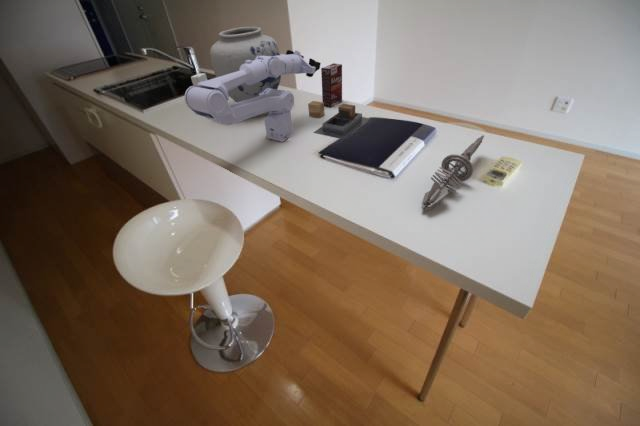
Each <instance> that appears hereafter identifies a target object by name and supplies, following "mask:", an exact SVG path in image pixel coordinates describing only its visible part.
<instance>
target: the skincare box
mask: <svg viewBox="0 0 640 426" xmlns="http://www.w3.org/2000/svg"><path fill="white" fill-rule="evenodd" d="M190 78H191V79H190V80H191V83H192V86H198V87H201V86H200V85H197V84H198V83H200V82H202V81H206V80H208V77H207V74H206V73H196V74H195V75H191V76H190Z"/></svg>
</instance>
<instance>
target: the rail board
mask: <svg viewBox="0 0 640 426" xmlns="http://www.w3.org/2000/svg"><path fill="white" fill-rule="evenodd" d="M369 119H370V120H371V118H370V117H365V116H363V113H361V112H360V113H358V112H355V117H354V118H353V119H352V120H351V119H345V118H340V117H339V114H338V113H336V114H334V115H333V116H332V117H330V118H329V119H327V120H325V121H324V122H322V126H321V127H319V128H317V129H316V130H315V131H314V132H313V134H317V135H323V136H324V137H325V136H327V137H330V138H335V139H340V140H344V139H345V138H346V137H348V136H347V135H348V134H352V135H353V134H354V133H355V132H356V131H358V130H359V129H360V128H361V127H362V126H363V125H365V124H366V123H367V122H369V121H370V120H369ZM348 138H349V137H348Z"/></svg>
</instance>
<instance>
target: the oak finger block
mask: <svg viewBox="0 0 640 426" xmlns="http://www.w3.org/2000/svg"><path fill="white" fill-rule="evenodd" d="M307 105H308V107H307V108H308V116H309V117H312V118H316V119H321V118H322V117H324V116H325V113H326V112H325V107H324V102H323V101H318V100H312V101H311V102H309V103H307Z"/></svg>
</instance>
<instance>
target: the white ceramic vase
mask: <svg viewBox="0 0 640 426" xmlns="http://www.w3.org/2000/svg"><path fill="white" fill-rule="evenodd" d="M261 32H262V28H261V27H258V26H241V27H235V28H230V29H227V30H222V31H220V32H219V33H218V36H219V37H220V39H219V40H218V41H216V42H215V43H214V44H212V46H210V47H211V48H210V50H209V51H210V55H209V56H210V60H211V61H210V62H211V65H212V66H211V67H212V69H213V73H214V75H215V78H217V77H220V76H223V75H227V74H230V73H233V72H237V71H239V69H240V66H241V65H242V64H245V61H246V60H251V61H253V60H255V59H256V57H257V56H277V55H280V54H281V53H280V50H279V45H278V43H277V41H276V40H275V38H273V37H272V36H269V35H265V34H262V33H261ZM281 78H282V75H279V77H277V78H275V77H268V78H266V79H264V80H262V81H259V82H257V83H255V84H252V85H247V84H245V83H244V84H242V85H240V86H238V87H236V88H234V89H232V90H230V91H228V96H229V98H230V99H232V101H234V103H237V102H240V101H244V100H247V99H251V98H254V97H258V96H259V94H260V93H262V92H264V90H265V89H267V88H272V89H276V90H279V86H280V82H281ZM268 114H269V111H268V112H265V113H262V114H260V115H257V116H254V117H262V116H266V115H267V116H268Z"/></svg>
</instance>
